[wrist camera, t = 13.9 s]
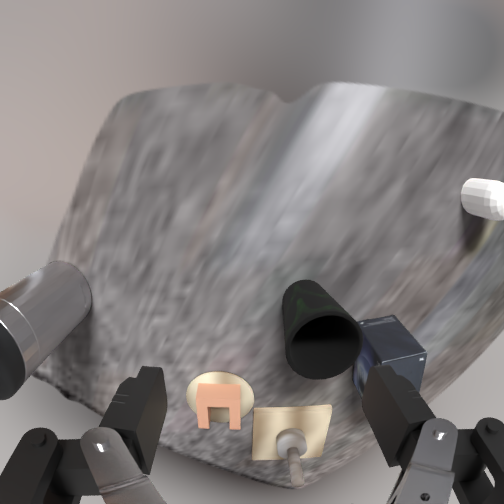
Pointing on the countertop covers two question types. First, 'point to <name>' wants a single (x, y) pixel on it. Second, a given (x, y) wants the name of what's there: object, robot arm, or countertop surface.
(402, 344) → the small box
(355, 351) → the cup
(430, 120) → the countertop surface
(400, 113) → the countertop surface
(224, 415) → the coaster
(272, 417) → the peg stand
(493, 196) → the capsule
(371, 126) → the countertop surface
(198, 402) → the c link
